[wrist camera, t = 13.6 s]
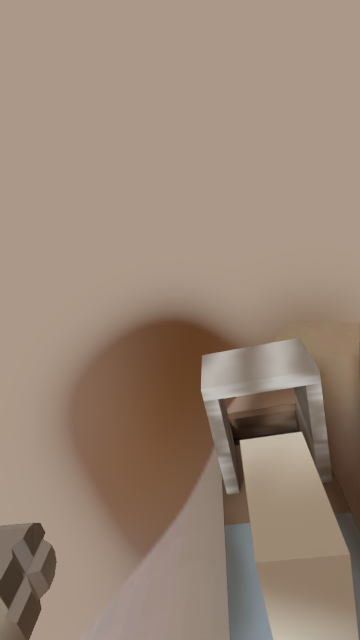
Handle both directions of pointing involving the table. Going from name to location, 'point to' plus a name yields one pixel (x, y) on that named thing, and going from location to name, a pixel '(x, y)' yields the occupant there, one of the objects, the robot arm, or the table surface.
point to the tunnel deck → (227, 430)
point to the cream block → (297, 542)
